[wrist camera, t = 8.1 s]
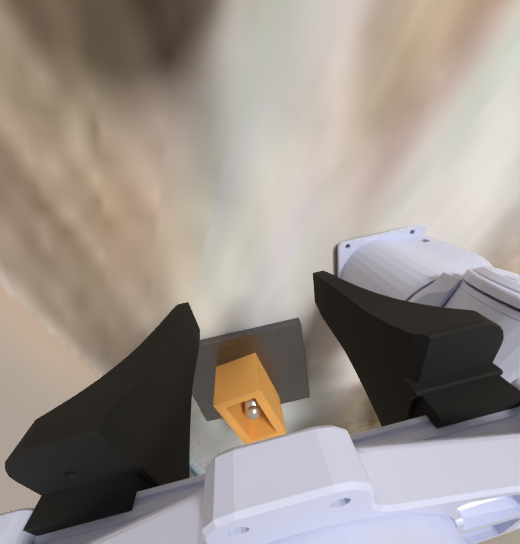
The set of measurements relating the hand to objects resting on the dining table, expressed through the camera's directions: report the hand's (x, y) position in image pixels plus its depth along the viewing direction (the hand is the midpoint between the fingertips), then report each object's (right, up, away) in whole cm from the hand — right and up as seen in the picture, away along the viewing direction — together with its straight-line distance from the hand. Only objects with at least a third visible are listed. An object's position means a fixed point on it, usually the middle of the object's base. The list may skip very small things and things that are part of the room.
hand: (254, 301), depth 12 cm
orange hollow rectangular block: (-1, -14, +17) cm, 22 cm away
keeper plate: (-1, -12, +18) cm, 22 cm away
